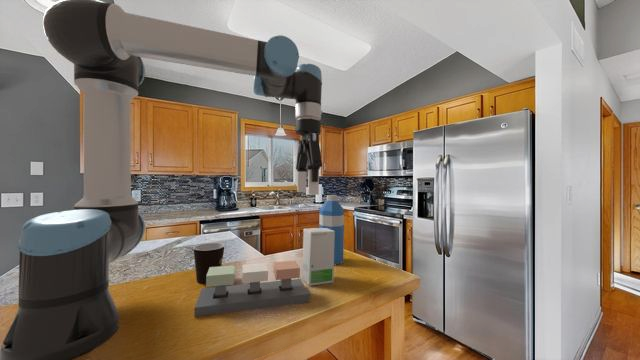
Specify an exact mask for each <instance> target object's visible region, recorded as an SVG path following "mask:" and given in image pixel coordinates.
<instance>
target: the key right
mask: <svg viewBox="0 0 640 360" xmlns="http://www.w3.org/2000/svg"><path fill="white" fill-rule="evenodd" d="M272 268H273V274H274V277H275V281H281V287H282V288H290V287H291V280H293V279H301V267H300V265H299V264H298V262H297V261H296V260H289V261H287V260H286V261H275V262H273V267H272Z"/></svg>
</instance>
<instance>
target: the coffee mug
mask: <svg viewBox="0 0 640 360" xmlns="http://www.w3.org/2000/svg"><path fill="white" fill-rule="evenodd" d="M225 246H226V245H225V244H224V243H221V242H207V243H206V242H205V243H200V244H197V245H195V246H193V248H192V249H193V258H194V266H195V277H196V283H198V284H200V285H206V275H207V273H208V270H209V268H210V267H219V266H223V260H224V252H225Z"/></svg>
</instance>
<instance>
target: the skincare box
mask: <svg viewBox="0 0 640 360" xmlns="http://www.w3.org/2000/svg"><path fill="white" fill-rule="evenodd" d="M302 231H303V239H302V267H301V268H302V269H301V279H302V280H303V281H304V282H305V283H306V284H307V285H308V286H310V287H311V286H316V285H317V286H318V285H323V284H330V283H331V284H332V283H334V271H335V269H334V268H335V265H334V239H335V231H333V230H330V229H328V228H319V227H311V228H310V227H309V228H303V230H302Z"/></svg>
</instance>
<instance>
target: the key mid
mask: <svg viewBox="0 0 640 360" xmlns="http://www.w3.org/2000/svg"><path fill="white" fill-rule="evenodd" d="M262 282H269V268H268V265H267V263H266V262H261V263H248V264H242V284H250V292H253V291H260V283H262Z"/></svg>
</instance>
